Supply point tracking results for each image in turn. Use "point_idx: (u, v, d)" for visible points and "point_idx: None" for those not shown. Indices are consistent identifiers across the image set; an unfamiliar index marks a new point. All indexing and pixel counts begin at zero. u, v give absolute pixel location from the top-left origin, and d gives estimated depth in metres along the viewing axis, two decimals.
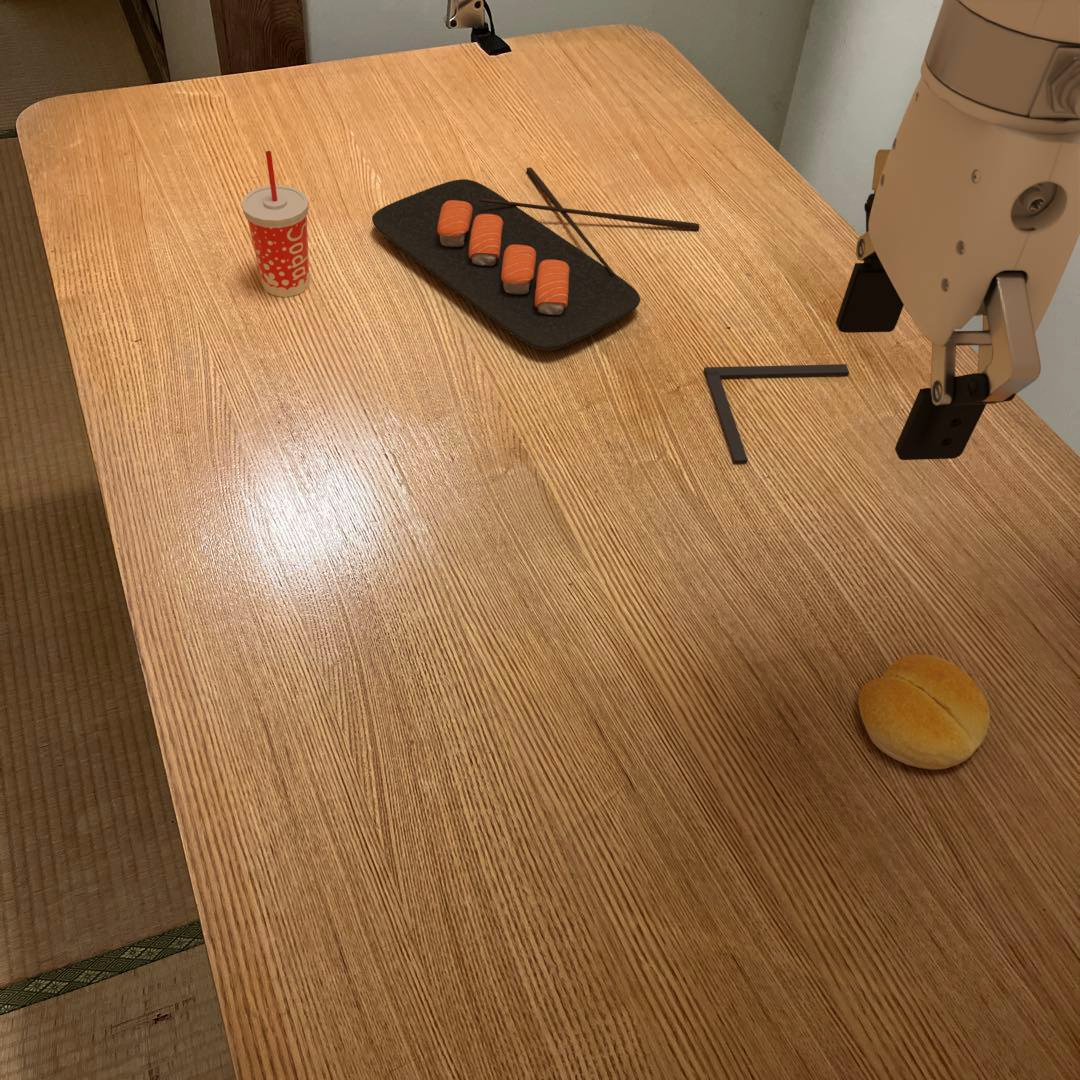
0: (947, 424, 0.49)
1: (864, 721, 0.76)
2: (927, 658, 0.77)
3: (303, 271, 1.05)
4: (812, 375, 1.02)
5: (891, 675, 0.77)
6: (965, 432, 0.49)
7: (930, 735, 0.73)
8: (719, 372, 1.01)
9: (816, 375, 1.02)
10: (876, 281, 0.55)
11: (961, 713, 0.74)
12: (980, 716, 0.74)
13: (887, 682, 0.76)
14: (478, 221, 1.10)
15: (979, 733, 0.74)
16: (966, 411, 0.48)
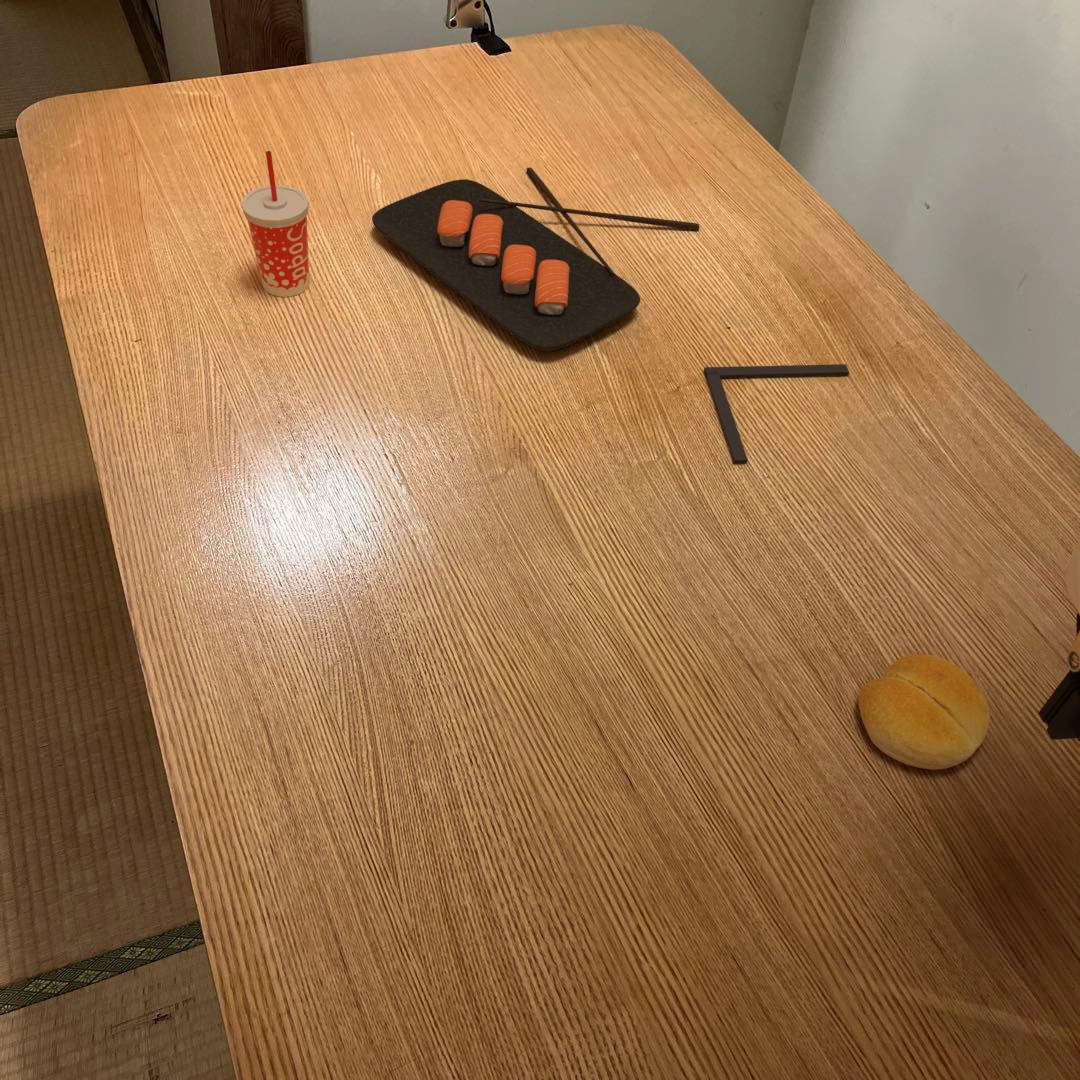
0: None
1: (864, 721, 0.76)
2: (927, 658, 0.77)
3: (303, 271, 1.05)
4: (812, 375, 1.02)
5: (891, 675, 0.77)
6: None
7: (930, 735, 0.73)
8: (719, 372, 1.01)
9: (816, 375, 1.02)
10: None
11: (961, 713, 0.74)
12: (980, 716, 0.74)
13: (887, 682, 0.76)
14: (478, 221, 1.10)
15: (979, 733, 0.74)
16: None
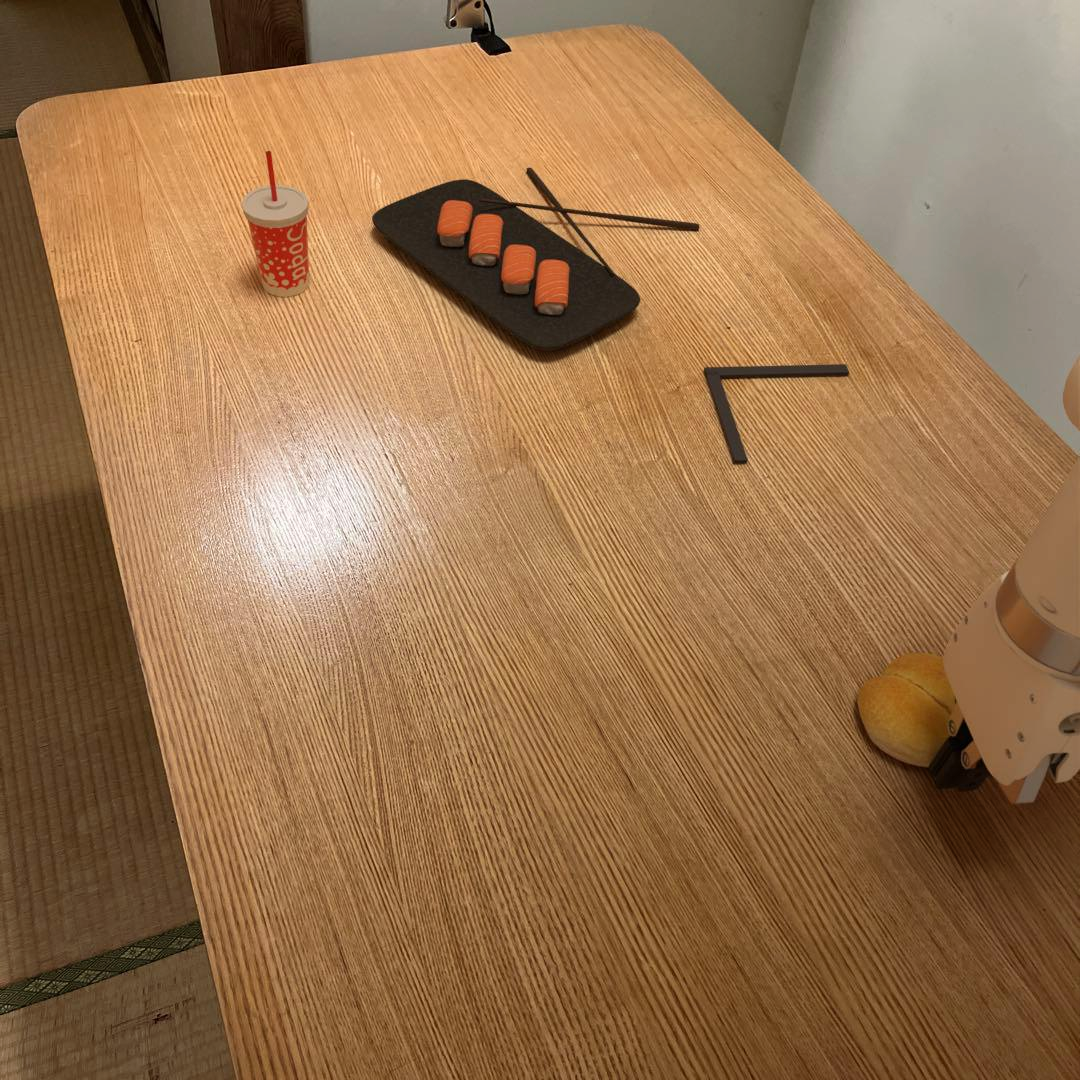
0: (972, 776, 0.69)
1: (863, 719, 0.76)
2: (927, 656, 0.77)
3: (303, 271, 1.05)
4: (812, 375, 1.02)
5: (890, 673, 0.78)
6: (984, 779, 0.70)
7: (929, 733, 0.73)
8: (719, 372, 1.01)
9: (816, 375, 1.02)
10: None
11: None
12: None
13: (886, 680, 0.76)
14: (478, 221, 1.10)
15: None
16: None
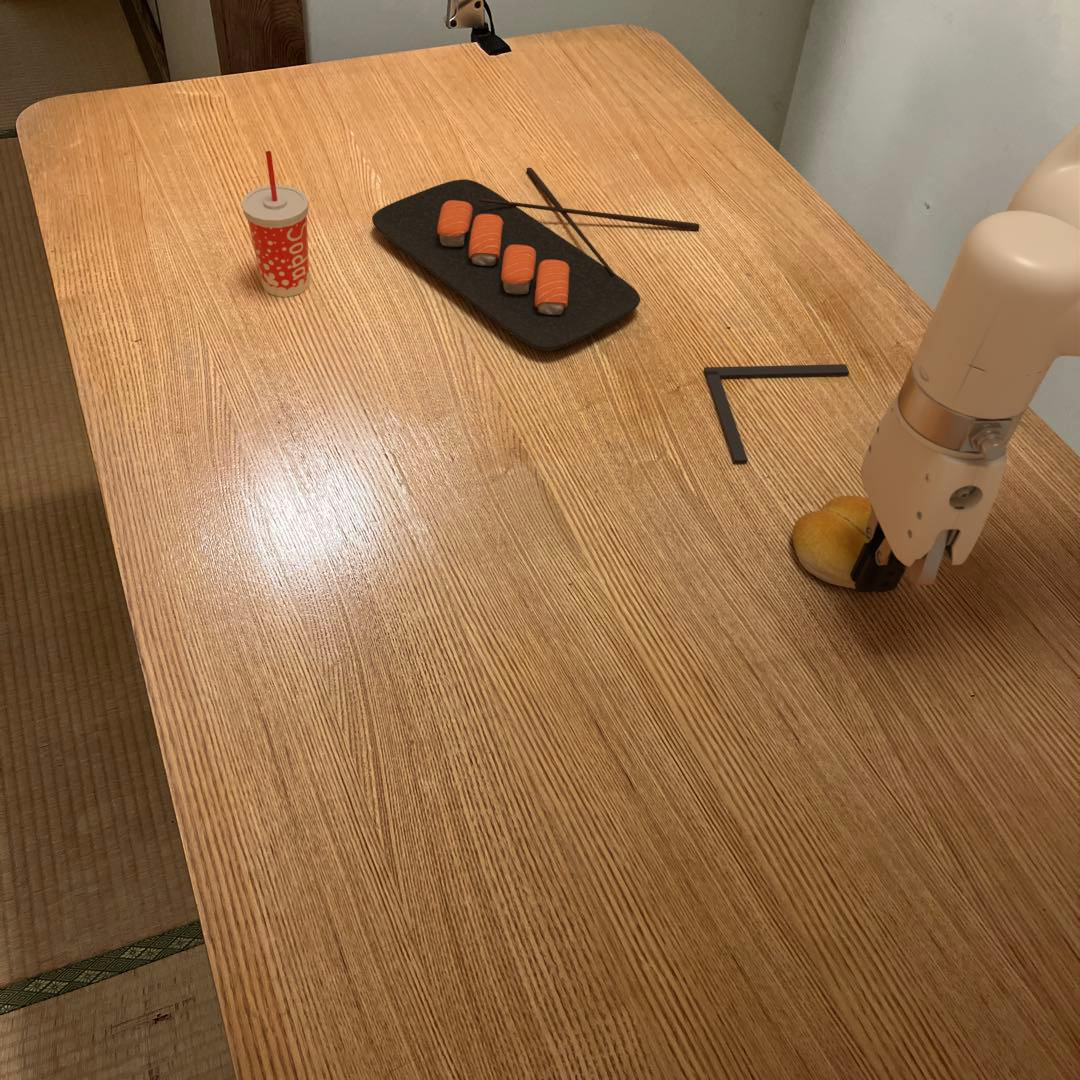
0: (885, 574, 0.80)
1: (795, 546, 0.86)
2: (856, 496, 0.88)
3: (303, 271, 1.05)
4: (812, 375, 1.02)
5: (823, 511, 0.88)
6: (897, 578, 0.80)
7: (849, 555, 0.83)
8: (719, 372, 1.01)
9: (816, 375, 1.02)
10: None
11: None
12: None
13: (817, 513, 0.86)
14: (478, 221, 1.10)
15: None
16: (897, 567, 0.79)
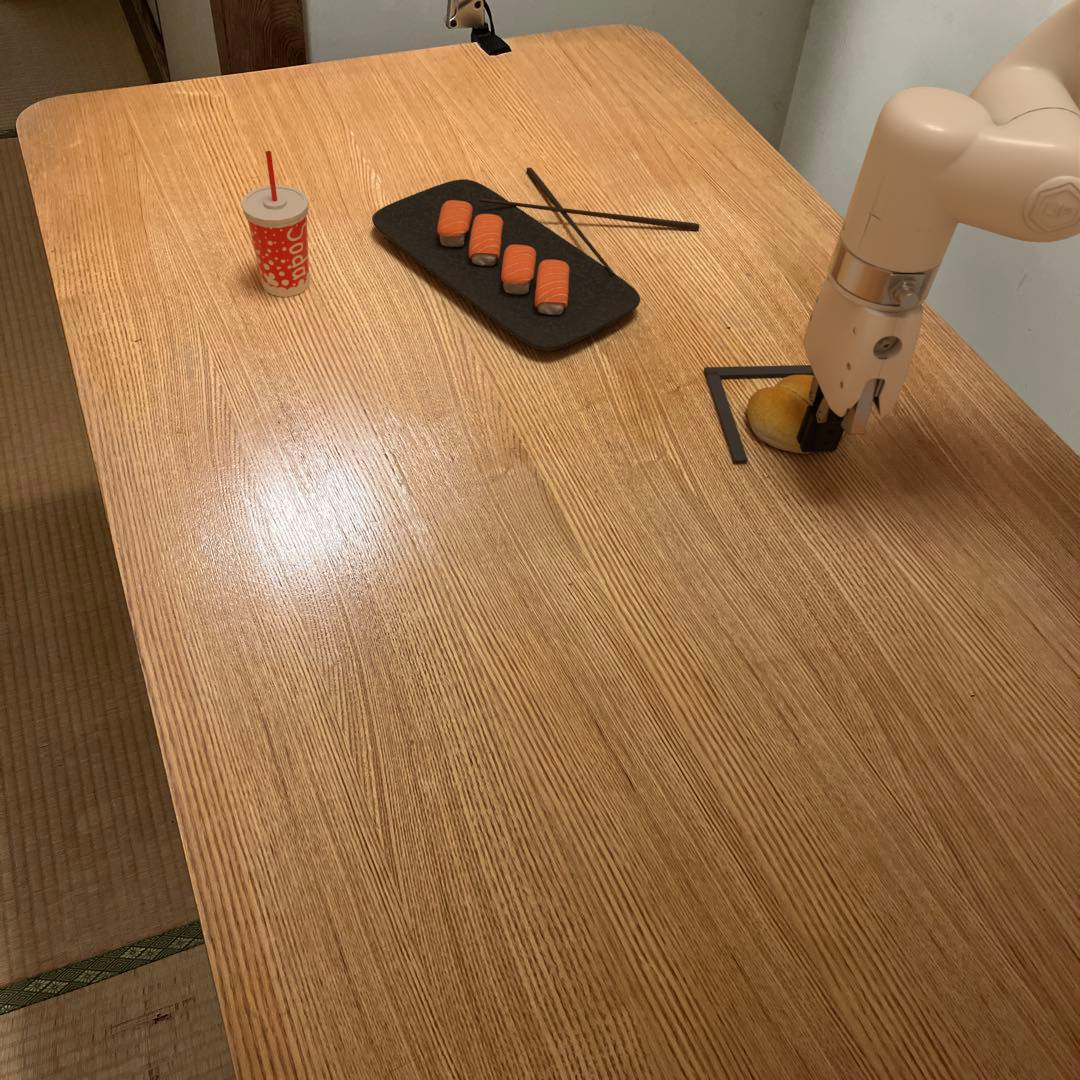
0: (826, 433, 0.90)
1: (748, 417, 0.96)
2: None
3: (303, 271, 1.05)
4: (812, 375, 1.02)
5: None
6: (836, 437, 0.90)
7: (795, 421, 0.93)
8: (719, 372, 1.01)
9: None
10: None
11: None
12: None
13: (769, 387, 0.96)
14: (478, 221, 1.10)
15: None
16: (835, 426, 0.89)
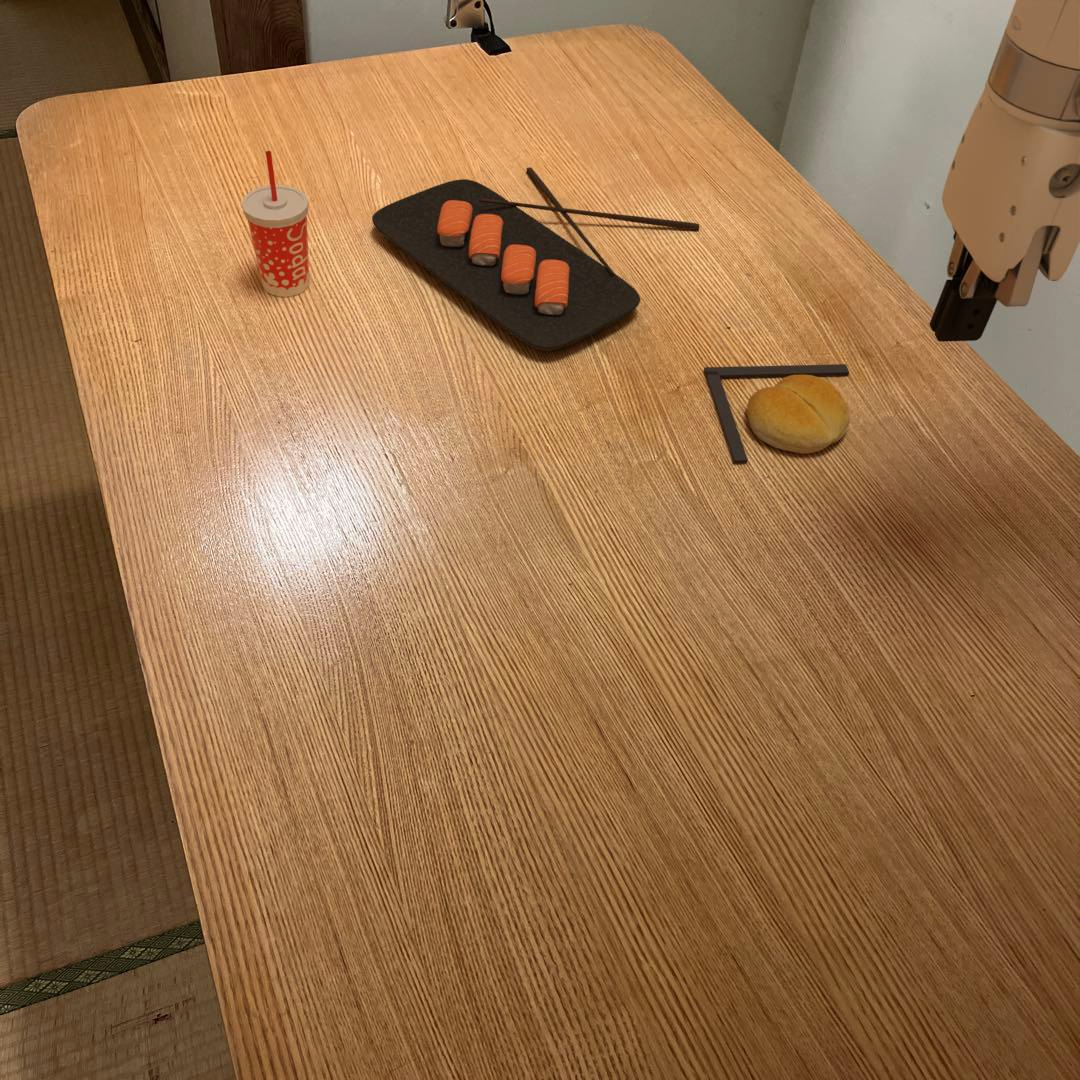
0: (970, 313, 0.72)
1: (748, 417, 0.96)
2: None
3: (303, 271, 1.05)
4: (812, 375, 1.02)
5: None
6: (983, 319, 0.72)
7: (795, 421, 0.93)
8: (719, 372, 1.01)
9: (816, 375, 1.02)
10: None
11: (823, 410, 0.95)
12: (839, 414, 0.95)
13: (769, 387, 0.96)
14: (478, 221, 1.10)
15: (837, 427, 0.95)
16: (983, 303, 0.71)
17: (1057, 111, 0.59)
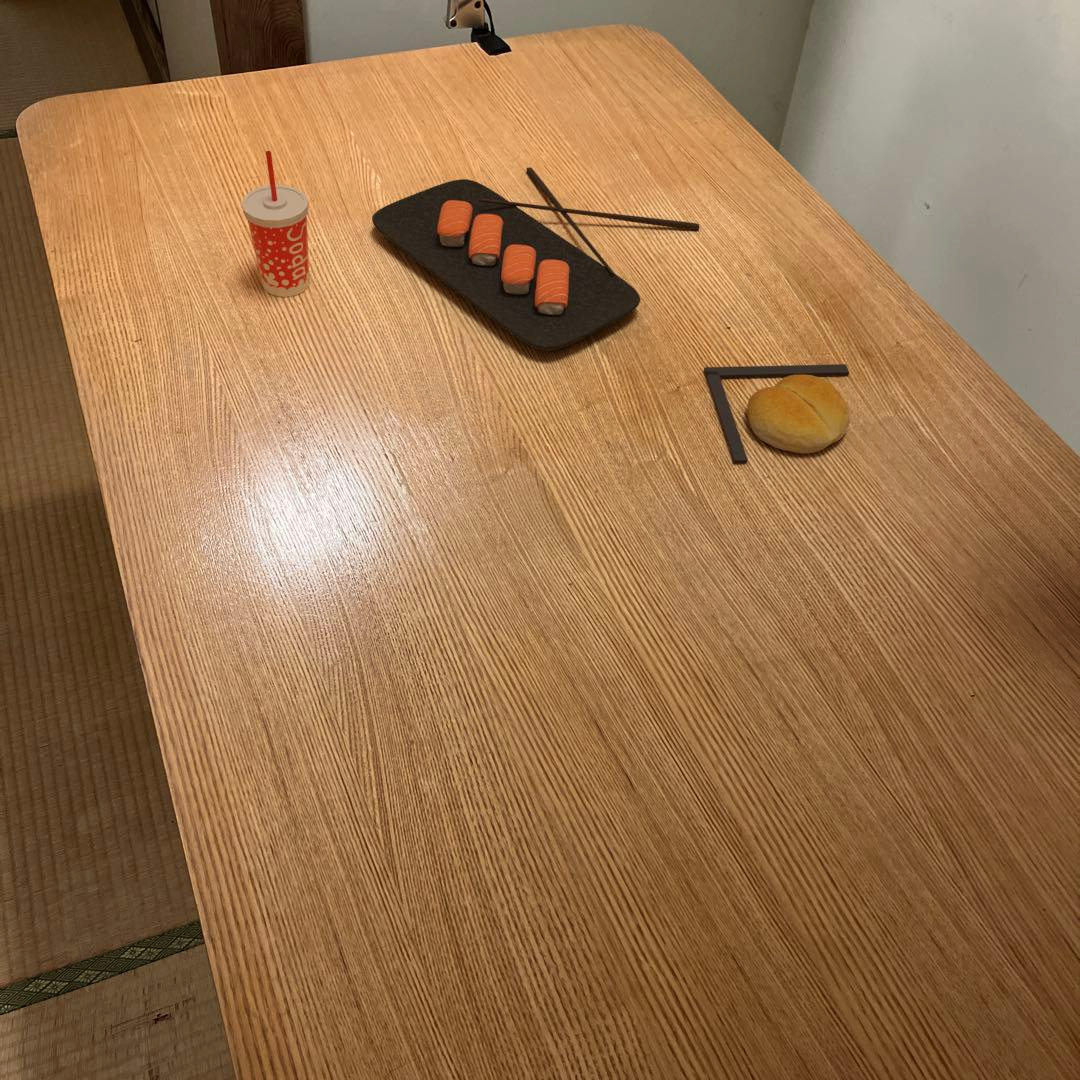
0: None
1: (748, 417, 0.96)
2: None
3: (303, 271, 1.05)
4: (812, 375, 1.02)
5: None
6: None
7: (795, 421, 0.93)
8: (719, 372, 1.01)
9: (816, 375, 1.02)
10: None
11: (823, 410, 0.95)
12: (839, 414, 0.95)
13: (769, 387, 0.96)
14: (478, 221, 1.10)
15: (837, 427, 0.95)
16: None
17: None
